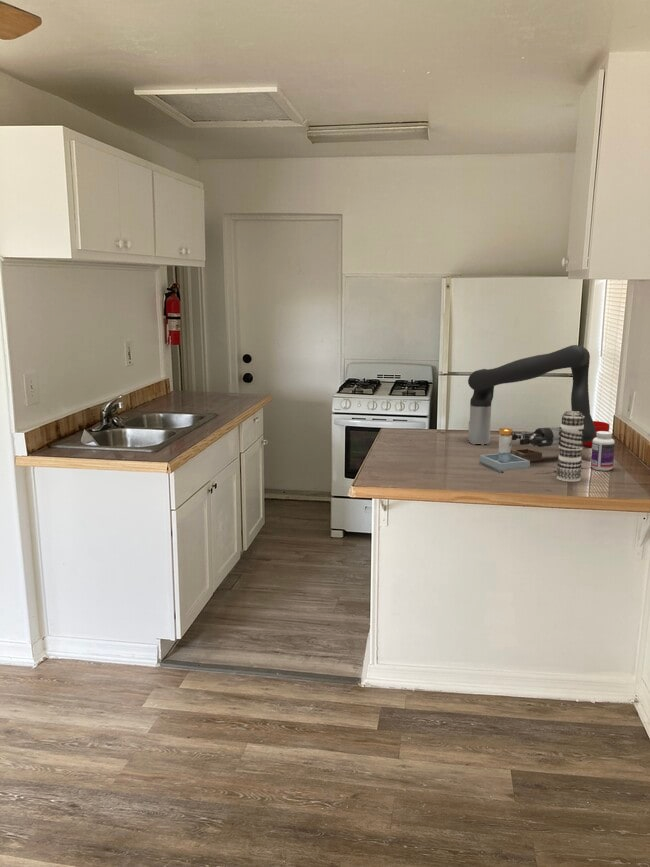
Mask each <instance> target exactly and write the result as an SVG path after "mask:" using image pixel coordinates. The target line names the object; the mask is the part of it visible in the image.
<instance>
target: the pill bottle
mask: <svg viewBox="0 0 650 867" xmlns="http://www.w3.org/2000/svg"><path fill="white" fill-rule="evenodd" d="M612 433H613V432H610V431H609V432H607V431H598V432H596V436H597V437H596V438H594V439H593V441H592V447H591V458H590V459H591V460H590V467H591V469H593V470H595V471H604V472H606V471H607V472H609V471H610V470H612V469H613V468H614V457H615V446H616V443H615V439H613V438H612V435H613V434H612Z"/></svg>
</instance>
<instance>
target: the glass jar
mask: <svg viewBox="0 0 650 867" xmlns="http://www.w3.org/2000/svg"><path fill="white" fill-rule="evenodd" d="M513 431H514V430H513V428H509V427H500V428H499V429H498V434H499V435H498V453H497V454H498V462H500V463H509V462H511V450H512V442H513V440H512V434H514V432H513Z"/></svg>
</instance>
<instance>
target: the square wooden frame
mask: <svg viewBox="0 0 650 867" xmlns="http://www.w3.org/2000/svg"><path fill="white" fill-rule="evenodd" d="M511 454H513V455H515V456H518V457H521V458H523V459H526V460H528V461H530V462H536V461H537V462H538V461H542V460H543V452H541V451H538V450H535V449H532V448H530V447H525V448H524V447H523V448H515V449H511Z"/></svg>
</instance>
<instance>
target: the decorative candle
mask: <svg viewBox="0 0 650 867" xmlns="http://www.w3.org/2000/svg"><path fill="white" fill-rule="evenodd" d="M560 416H561V423H560V427H559V426H558V427H559V431H560V432H559V435H560V437H559V438H558V439H559V442H558V444H559V445H558V448H559V454H558V459H557V462H558V463H557V464H556V465H557V466H558V467H557V468H556V475H557V476H556V479H557V480H560V481H563V482H572V483H574V482H579V481H581V480H582V479H581V476H582V474H581V473H582V469H581V468H582V463H583V462H582V450H583V448H584V444H583V443H582V441H584V439H583V438H582V437H584V436H585V435H584V434H582V432H584V431H585V429H584V428H583V427H584V425H583V420H584V417H585V416H583V415H582V413H581V412H578V411H572V410H566V411H565V412H564V413H563V414H561V415H560Z"/></svg>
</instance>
